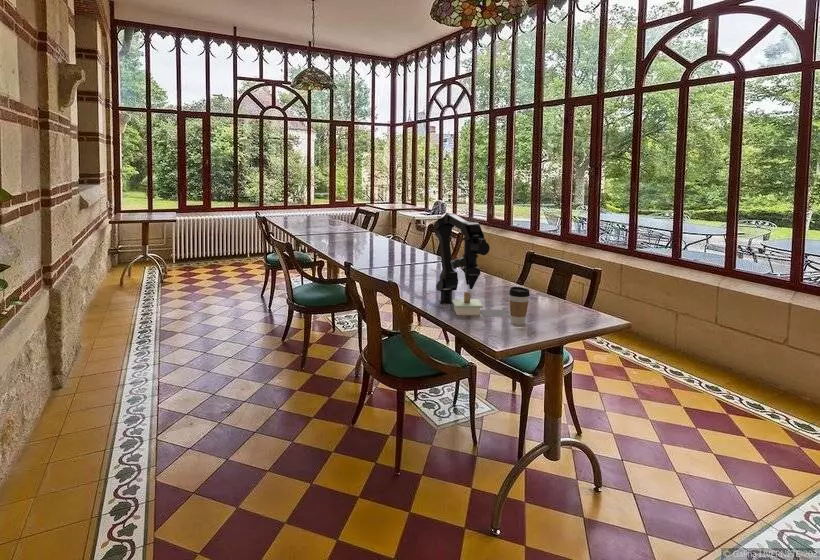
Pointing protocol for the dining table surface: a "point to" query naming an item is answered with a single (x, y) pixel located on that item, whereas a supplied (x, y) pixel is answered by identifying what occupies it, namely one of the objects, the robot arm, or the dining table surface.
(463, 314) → the cream square tray
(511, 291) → the coffee cup
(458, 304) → the lid
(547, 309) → the dining table surface
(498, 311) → the mat
